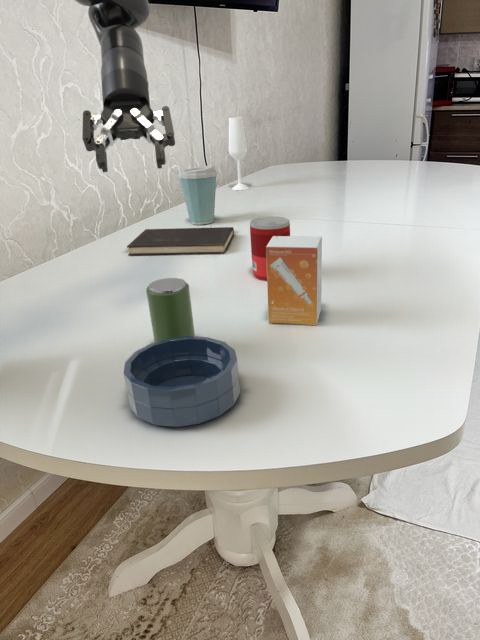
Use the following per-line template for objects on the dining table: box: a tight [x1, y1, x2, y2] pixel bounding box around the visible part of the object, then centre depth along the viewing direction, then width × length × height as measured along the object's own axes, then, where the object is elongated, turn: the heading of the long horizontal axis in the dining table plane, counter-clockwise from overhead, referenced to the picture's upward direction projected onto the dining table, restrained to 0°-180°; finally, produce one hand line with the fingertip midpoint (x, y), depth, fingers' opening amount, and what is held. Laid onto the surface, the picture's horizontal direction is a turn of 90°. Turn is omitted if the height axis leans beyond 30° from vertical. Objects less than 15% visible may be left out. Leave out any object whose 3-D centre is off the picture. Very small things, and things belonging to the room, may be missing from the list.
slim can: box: [145, 277, 196, 343], centre depth 76 cm, size 6×6×10 cm
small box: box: [266, 235, 323, 326], centre depth 84 cm, size 8×6×13 cm
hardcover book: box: [126, 226, 235, 257], centre depth 129 cm, size 16×23×2 cm
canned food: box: [249, 216, 291, 282], centre depth 104 cm, size 8×8×11 cm
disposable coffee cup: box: [178, 165, 218, 226], centre depth 146 cm, size 11×11×15 cm
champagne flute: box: [228, 116, 250, 191], centre depth 187 cm, size 7×7×24 cm
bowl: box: [123, 335, 241, 428], centre depth 65 cm, size 14×14×6 cm
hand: (132, 167), depth 82 cm, fingers open, 8 cm apart
